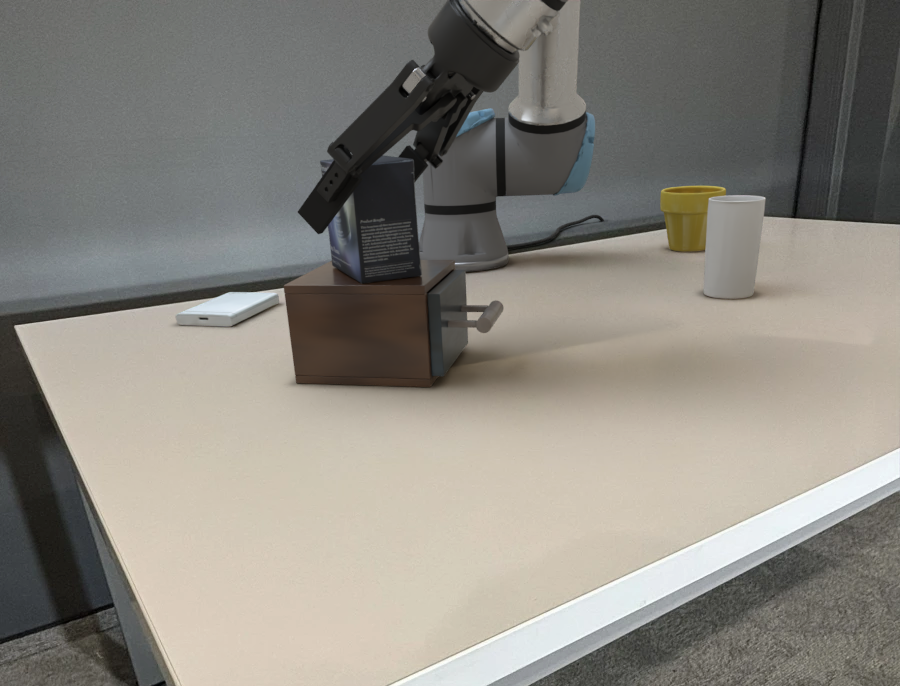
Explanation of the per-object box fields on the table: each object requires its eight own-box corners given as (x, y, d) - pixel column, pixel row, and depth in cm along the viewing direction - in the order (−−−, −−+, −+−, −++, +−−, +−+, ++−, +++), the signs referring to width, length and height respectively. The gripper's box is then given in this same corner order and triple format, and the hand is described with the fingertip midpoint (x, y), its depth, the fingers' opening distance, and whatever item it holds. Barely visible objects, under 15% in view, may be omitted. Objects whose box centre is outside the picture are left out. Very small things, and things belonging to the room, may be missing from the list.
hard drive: (226, 291, 112) (174, 312, 101) (278, 292, 110) (230, 313, 99) (228, 303, 113) (176, 325, 102) (280, 304, 111) (232, 326, 100)
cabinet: (458, 349, 86) (455, 259, 82) (430, 387, 75) (424, 285, 71) (340, 347, 89) (331, 260, 85) (295, 383, 78) (283, 285, 74)
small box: (327, 267, 81) (315, 158, 77) (387, 260, 84) (379, 154, 79) (357, 284, 72) (346, 162, 68) (424, 276, 75) (417, 157, 70)
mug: (749, 301, 99) (759, 201, 95) (694, 297, 103) (702, 201, 98) (765, 285, 107) (775, 192, 102) (714, 282, 111) (722, 192, 106)
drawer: (507, 343, 84) (506, 269, 81) (488, 377, 74) (486, 294, 70) (357, 341, 87) (350, 269, 84) (319, 373, 77) (309, 293, 74)
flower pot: (683, 256, 129) (688, 193, 125) (645, 248, 138) (648, 189, 134) (734, 249, 133) (740, 188, 129) (693, 241, 142) (697, 184, 138)
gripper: (464, 51, 55) (304, 265, 66) (561, 61, 76) (427, 222, 87) (389, -29, 54) (242, 199, 66) (508, 3, 75) (380, 172, 87)
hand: (347, 212), depth 77 cm, fingers open, 13 cm apart
